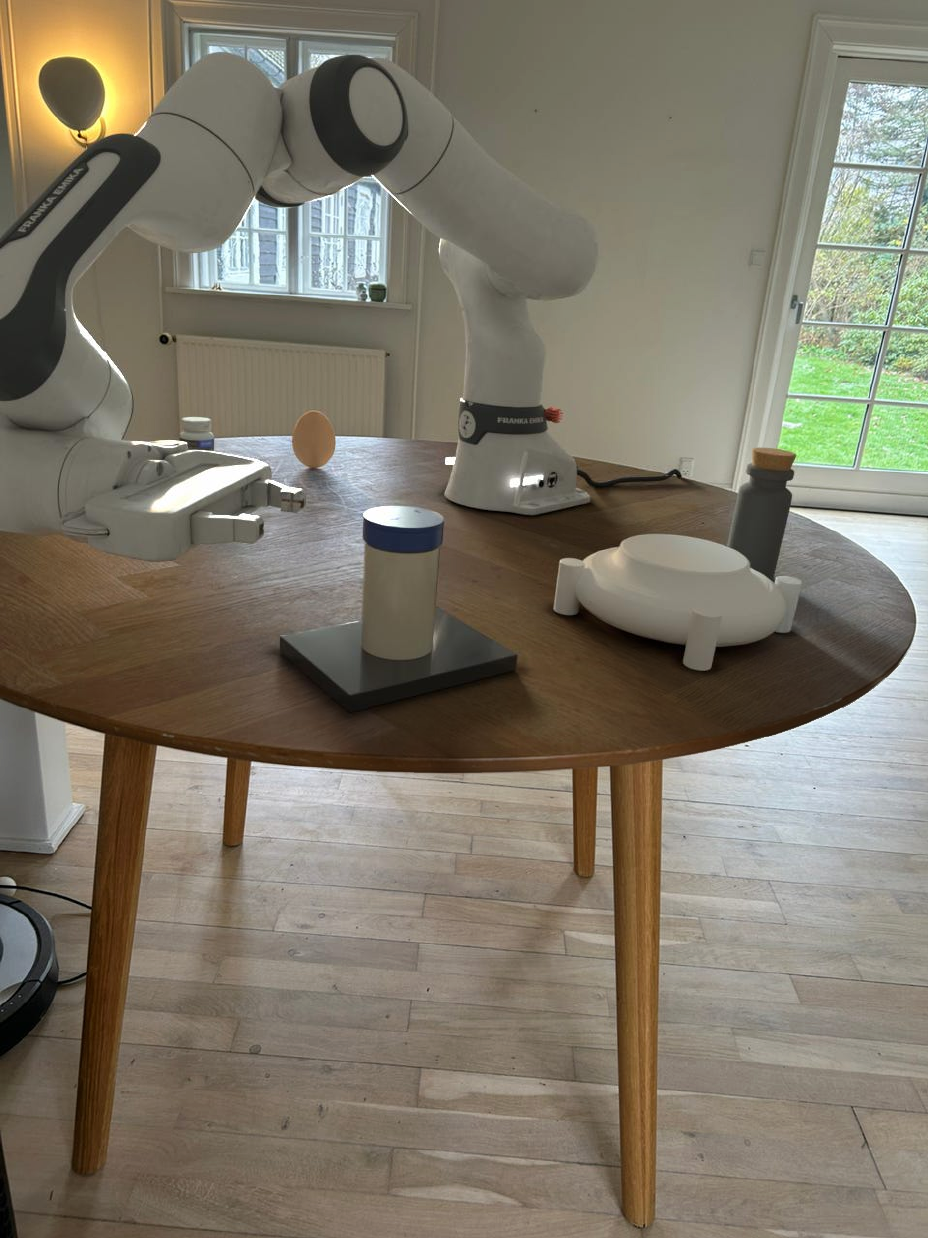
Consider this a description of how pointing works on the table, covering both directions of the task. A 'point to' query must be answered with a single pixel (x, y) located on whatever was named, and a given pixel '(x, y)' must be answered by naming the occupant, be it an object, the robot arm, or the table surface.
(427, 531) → the lid
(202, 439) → the pill bottle
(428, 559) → the jar
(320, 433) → the egg
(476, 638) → the board
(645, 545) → the round stand with pegs
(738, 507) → the bottle
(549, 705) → the table surface
